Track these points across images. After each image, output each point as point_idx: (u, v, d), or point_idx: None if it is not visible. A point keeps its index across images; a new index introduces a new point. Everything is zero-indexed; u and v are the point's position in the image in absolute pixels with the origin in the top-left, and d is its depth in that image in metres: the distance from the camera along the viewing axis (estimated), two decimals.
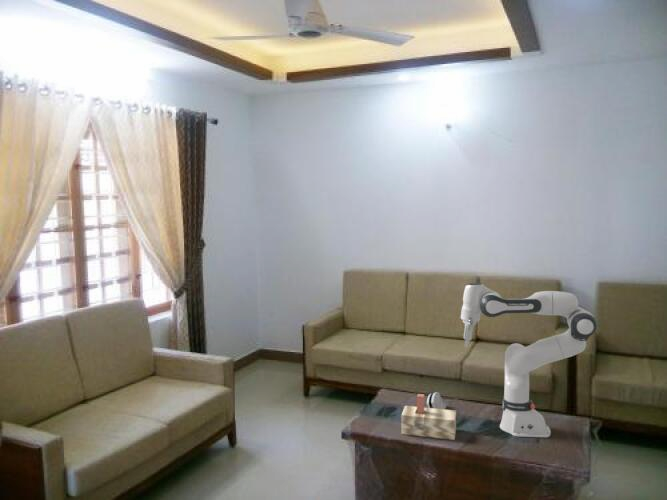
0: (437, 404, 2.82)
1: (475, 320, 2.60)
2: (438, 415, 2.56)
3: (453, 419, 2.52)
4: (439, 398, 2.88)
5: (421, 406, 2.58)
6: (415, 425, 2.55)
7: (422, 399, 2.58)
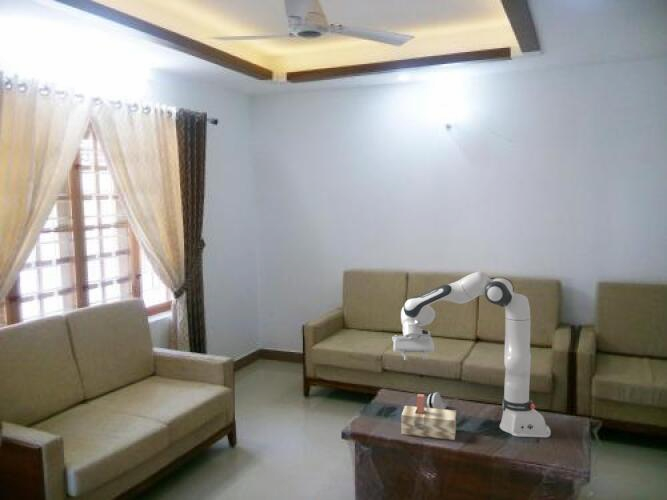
0: (437, 404, 2.82)
1: (405, 333, 2.76)
2: (438, 415, 2.56)
3: (453, 419, 2.52)
4: (439, 398, 2.88)
5: (421, 406, 2.58)
6: (415, 425, 2.55)
7: (422, 399, 2.58)
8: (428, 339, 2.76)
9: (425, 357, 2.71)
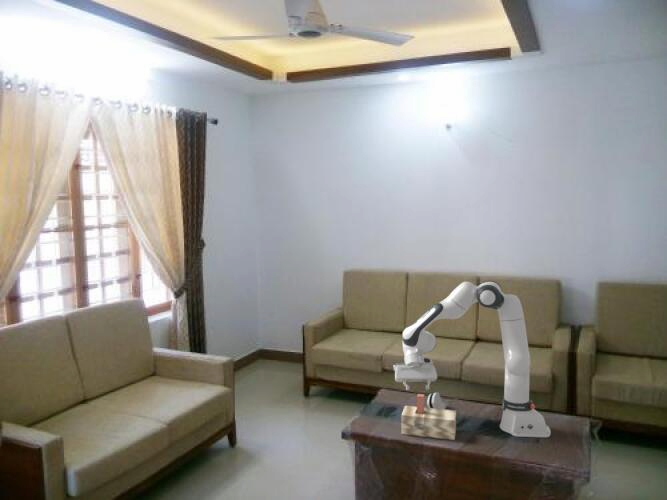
0: (437, 404, 2.82)
1: (407, 362, 2.72)
2: (438, 415, 2.56)
3: (453, 419, 2.52)
4: (439, 399, 2.88)
5: (421, 406, 2.58)
6: (415, 425, 2.55)
7: (422, 399, 2.58)
8: (431, 368, 2.71)
9: (427, 386, 2.66)
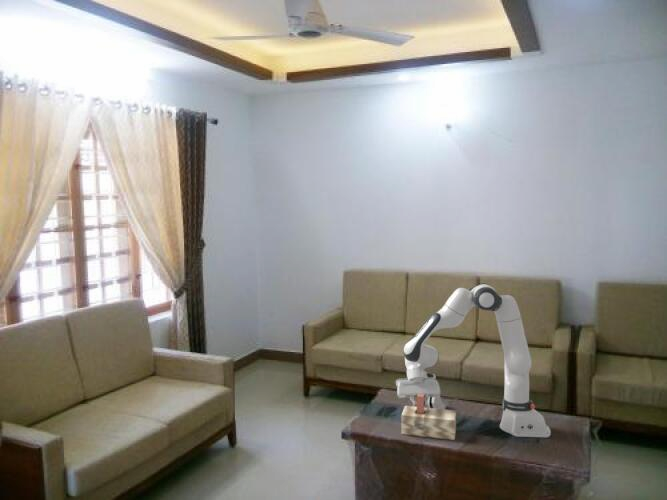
0: (437, 404, 2.81)
1: (410, 377, 2.65)
2: (438, 415, 2.56)
3: (453, 419, 2.52)
4: (439, 399, 2.88)
5: (421, 406, 2.58)
6: (415, 425, 2.55)
7: (422, 399, 2.58)
8: (434, 383, 2.65)
9: (426, 402, 2.59)
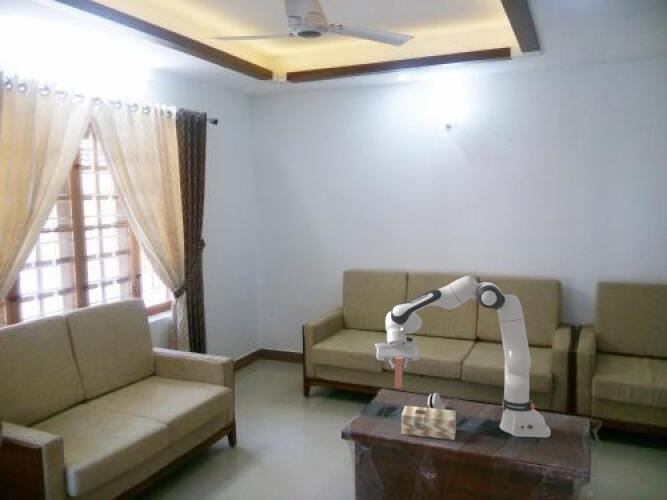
0: (437, 405, 2.81)
1: (389, 341, 2.67)
2: (438, 415, 2.56)
3: (453, 419, 2.52)
4: (439, 399, 2.87)
5: (399, 369, 2.61)
6: (415, 425, 2.55)
7: (400, 361, 2.60)
8: (413, 347, 2.67)
9: (404, 365, 2.62)
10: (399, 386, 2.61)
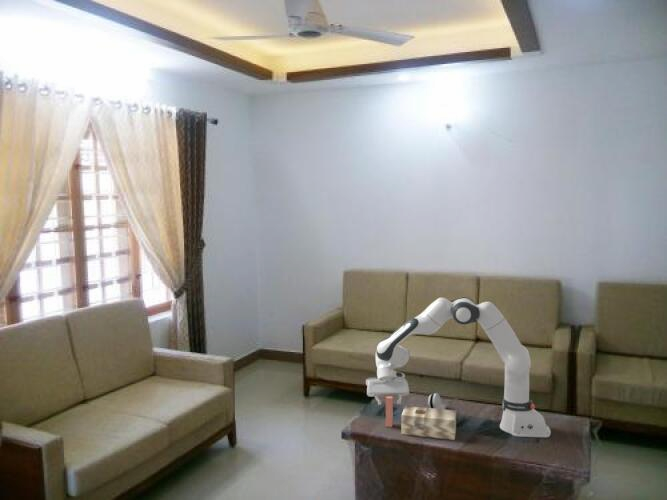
0: (438, 405, 2.81)
1: (379, 376, 2.71)
2: (438, 415, 2.56)
3: (453, 419, 2.52)
4: (439, 399, 2.87)
5: (389, 408, 2.65)
6: (415, 425, 2.55)
7: (391, 401, 2.64)
8: (403, 382, 2.71)
9: (399, 401, 2.65)
10: (390, 425, 2.65)
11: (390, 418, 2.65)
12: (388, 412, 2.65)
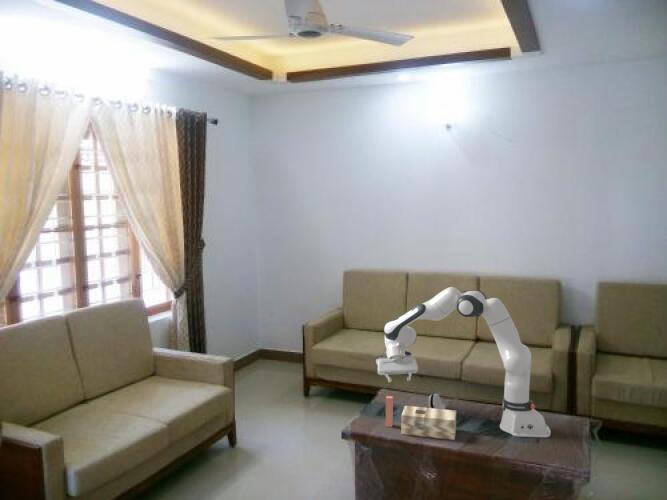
0: (438, 405, 2.80)
1: (389, 356, 2.83)
2: (438, 415, 2.56)
3: (453, 419, 2.52)
4: (439, 399, 2.87)
5: (389, 408, 2.65)
6: (415, 425, 2.55)
7: (391, 401, 2.64)
8: (412, 360, 2.82)
9: (409, 378, 2.77)
10: (390, 425, 2.65)
11: (390, 418, 2.65)
12: (388, 412, 2.65)
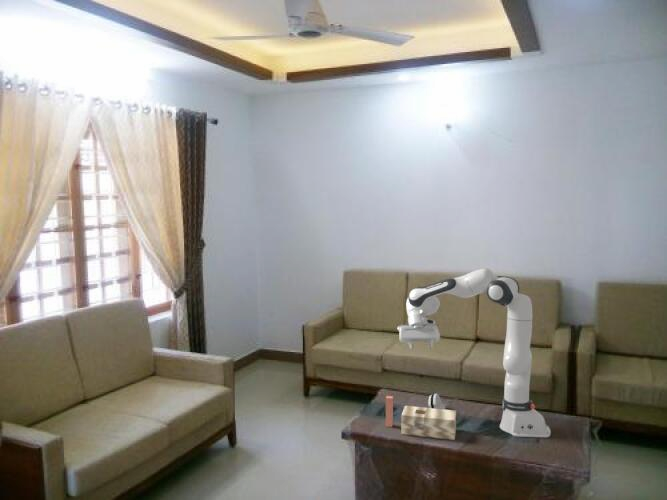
0: (438, 405, 2.80)
1: (411, 323, 2.81)
2: (438, 415, 2.56)
3: (453, 419, 2.52)
4: (439, 400, 2.87)
5: (389, 408, 2.65)
6: (415, 425, 2.55)
7: (391, 401, 2.64)
8: (434, 328, 2.80)
9: (431, 346, 2.75)
10: (390, 425, 2.65)
11: (390, 418, 2.65)
12: (388, 412, 2.65)
